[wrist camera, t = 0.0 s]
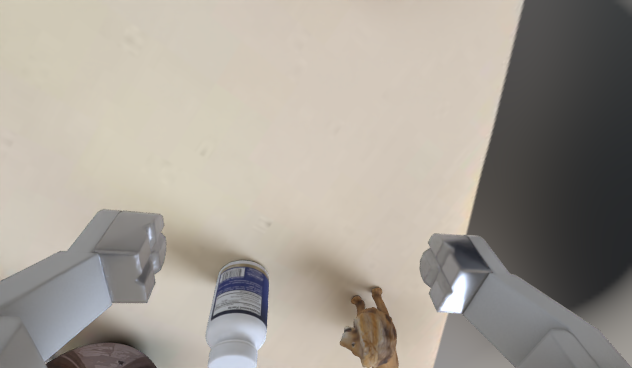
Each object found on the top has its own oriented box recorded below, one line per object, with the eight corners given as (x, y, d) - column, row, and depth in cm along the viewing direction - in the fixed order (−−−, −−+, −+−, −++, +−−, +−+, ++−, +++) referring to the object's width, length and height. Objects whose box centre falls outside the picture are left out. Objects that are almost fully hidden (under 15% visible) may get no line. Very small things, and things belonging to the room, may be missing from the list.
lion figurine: (327, 283, 37) (338, 363, 29) (371, 267, 36) (394, 345, 28) (370, 345, 44) (387, 421, 37) (407, 333, 43) (432, 408, 36)
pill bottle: (258, 297, 37) (251, 389, 29) (212, 285, 35) (190, 380, 27) (277, 266, 34) (274, 357, 26) (228, 252, 33) (209, 345, 25)
